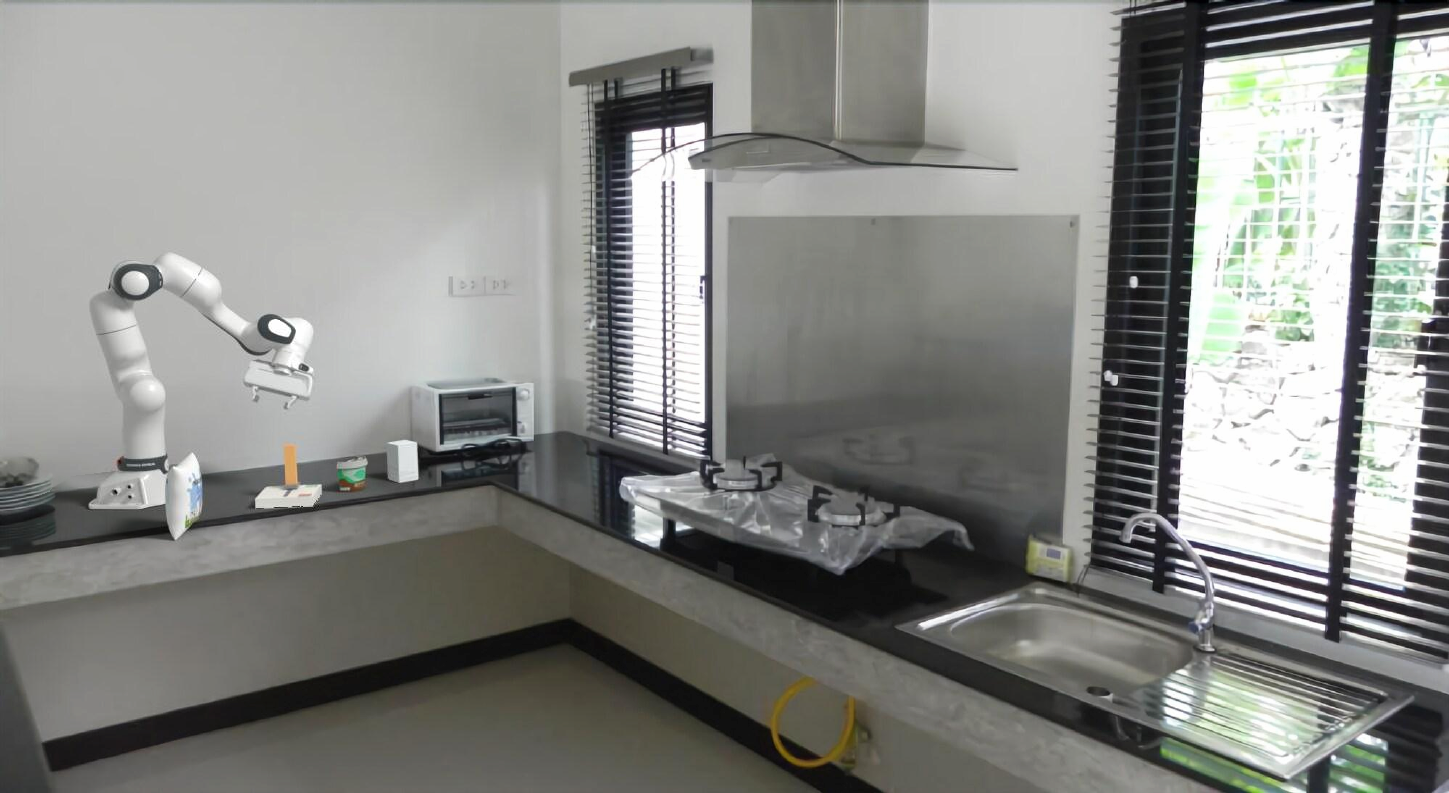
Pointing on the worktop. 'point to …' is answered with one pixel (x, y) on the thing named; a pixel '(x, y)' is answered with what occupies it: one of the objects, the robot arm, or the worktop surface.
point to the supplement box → (402, 461)
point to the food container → (352, 474)
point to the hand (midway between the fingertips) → (270, 405)
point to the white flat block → (288, 496)
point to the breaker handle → (290, 467)
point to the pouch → (183, 495)
